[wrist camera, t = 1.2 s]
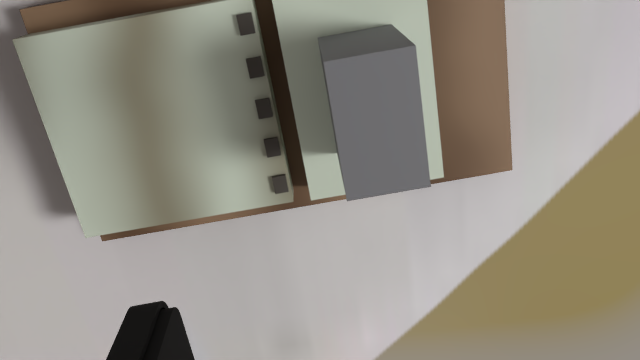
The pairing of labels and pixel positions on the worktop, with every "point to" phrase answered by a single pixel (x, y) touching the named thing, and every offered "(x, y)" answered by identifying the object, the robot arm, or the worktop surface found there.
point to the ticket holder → (222, 106)
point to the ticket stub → (362, 94)
